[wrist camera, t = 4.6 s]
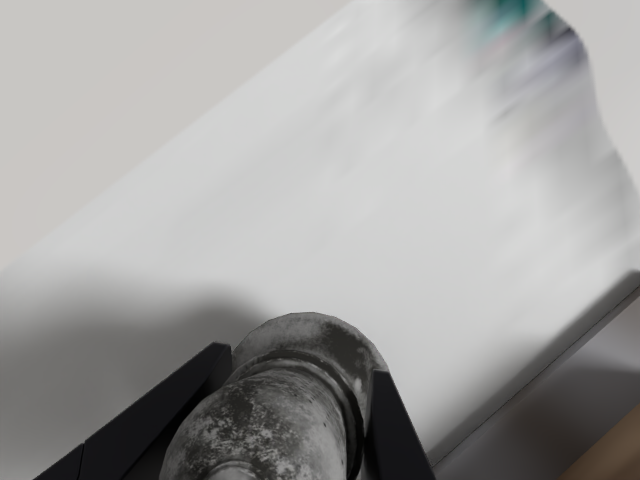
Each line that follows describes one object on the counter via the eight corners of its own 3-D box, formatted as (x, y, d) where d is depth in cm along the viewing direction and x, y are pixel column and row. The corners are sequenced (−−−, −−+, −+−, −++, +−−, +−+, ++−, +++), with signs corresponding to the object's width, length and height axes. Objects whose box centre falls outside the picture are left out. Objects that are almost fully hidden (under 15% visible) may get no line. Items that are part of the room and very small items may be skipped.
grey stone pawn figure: (235, 460, 15) (-162, 880, 3) (254, 311, 16) (24, 248, 5) (383, 479, 14) (521, 1071, 3) (390, 323, 16) (498, 284, 4)
